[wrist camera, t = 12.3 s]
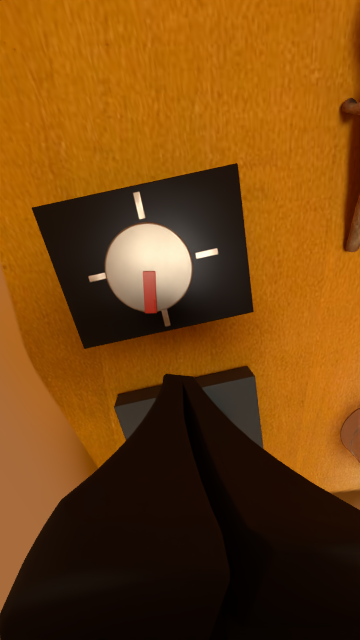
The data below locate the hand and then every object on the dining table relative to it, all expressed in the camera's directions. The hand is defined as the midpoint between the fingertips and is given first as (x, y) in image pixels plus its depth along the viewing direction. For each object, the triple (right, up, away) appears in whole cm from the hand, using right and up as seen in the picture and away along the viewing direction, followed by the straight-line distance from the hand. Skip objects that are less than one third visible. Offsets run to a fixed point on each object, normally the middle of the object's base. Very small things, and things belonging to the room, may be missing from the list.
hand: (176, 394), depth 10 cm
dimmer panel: (-2, +8, +7) cm, 10 cm away
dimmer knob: (-1, +7, +4) cm, 8 cm away
